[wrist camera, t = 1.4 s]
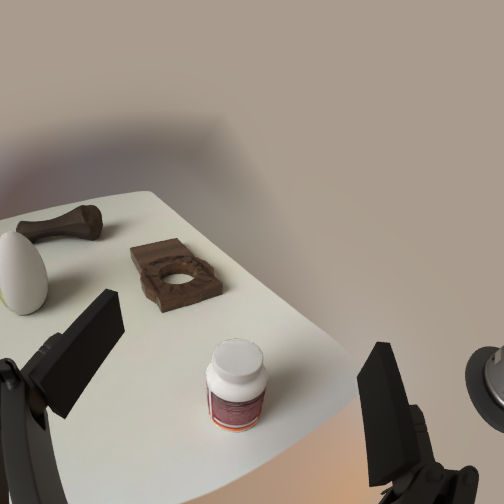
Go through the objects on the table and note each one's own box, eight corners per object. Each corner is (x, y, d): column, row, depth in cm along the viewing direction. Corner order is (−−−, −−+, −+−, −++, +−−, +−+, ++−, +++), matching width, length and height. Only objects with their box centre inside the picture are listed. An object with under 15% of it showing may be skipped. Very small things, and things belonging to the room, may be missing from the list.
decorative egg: (17, 286, 43) (-1, 223, 36) (60, 284, 46) (43, 216, 40) (-3, 322, 32) (-30, 251, 26) (44, 322, 36) (17, 245, 29)
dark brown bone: (106, 239, 71) (30, 257, 63) (102, 204, 70) (27, 224, 63) (96, 236, 60) (13, 257, 53) (92, 196, 60) (10, 220, 52)
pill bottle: (270, 419, 28) (286, 364, 23) (226, 442, 25) (227, 393, 20) (241, 385, 33) (247, 325, 28) (199, 404, 29) (192, 346, 24)
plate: (227, 293, 51) (228, 281, 50) (156, 315, 43) (154, 303, 42) (181, 246, 67) (181, 237, 65) (126, 258, 59) (125, 248, 58)
